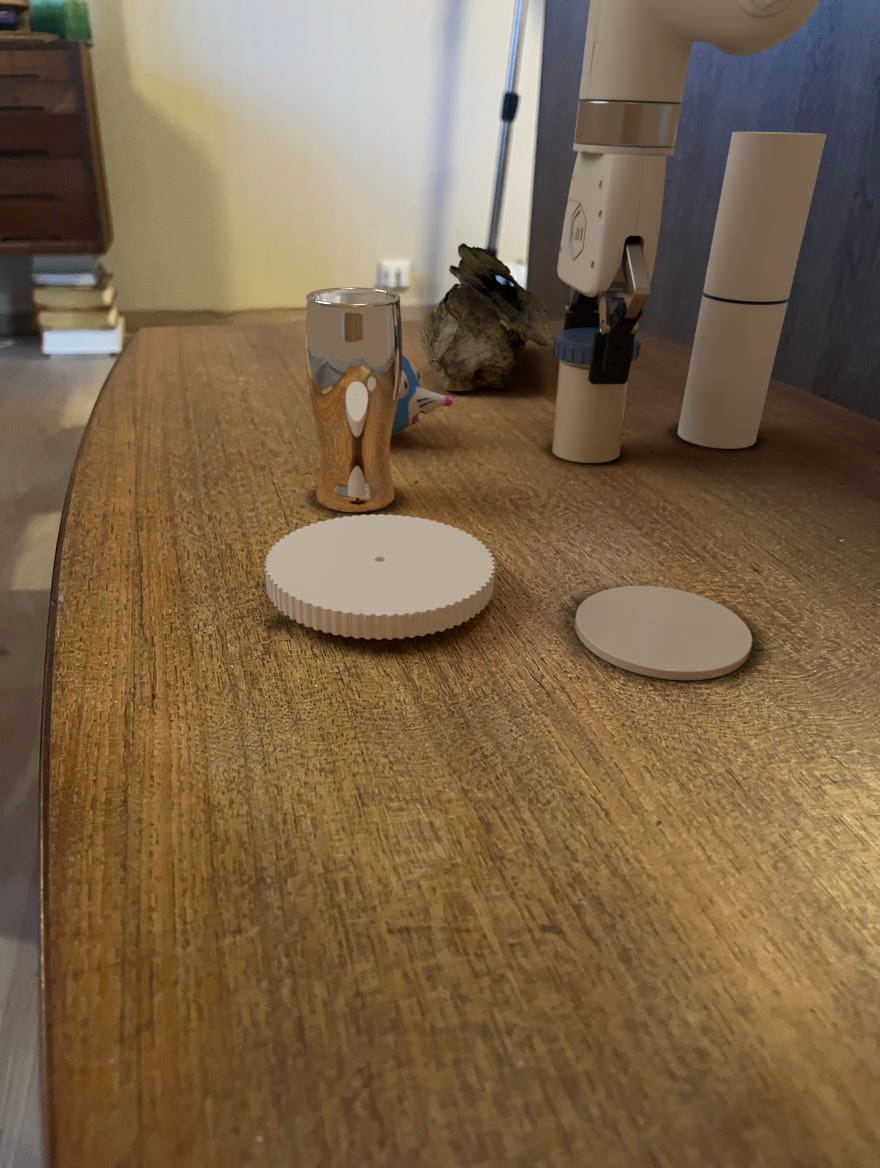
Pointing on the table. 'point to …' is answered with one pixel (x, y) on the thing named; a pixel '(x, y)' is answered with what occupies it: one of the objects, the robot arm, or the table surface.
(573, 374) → the jar
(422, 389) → the blue toy animal
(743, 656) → the coaster
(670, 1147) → the table surface
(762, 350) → the cylindrical container
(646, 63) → the robot arm
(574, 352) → the lid
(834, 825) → the table surface
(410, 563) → the plastic lid
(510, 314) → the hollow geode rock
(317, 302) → the beer glass
